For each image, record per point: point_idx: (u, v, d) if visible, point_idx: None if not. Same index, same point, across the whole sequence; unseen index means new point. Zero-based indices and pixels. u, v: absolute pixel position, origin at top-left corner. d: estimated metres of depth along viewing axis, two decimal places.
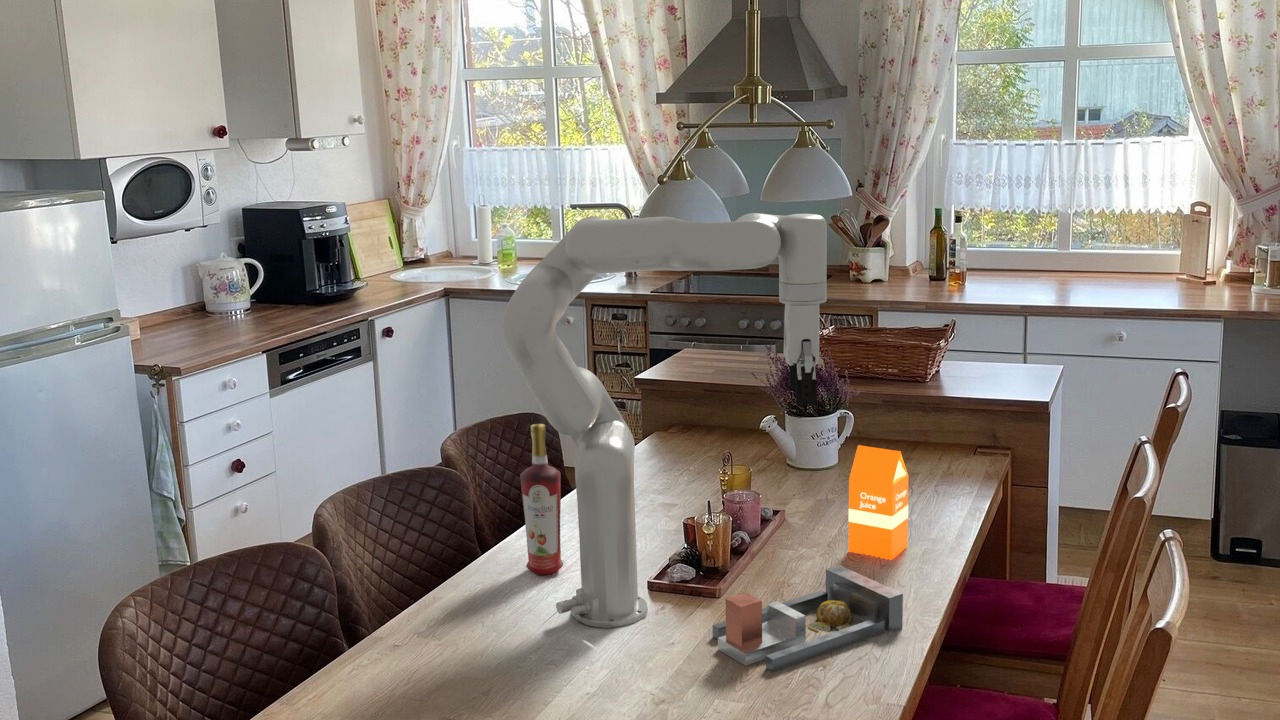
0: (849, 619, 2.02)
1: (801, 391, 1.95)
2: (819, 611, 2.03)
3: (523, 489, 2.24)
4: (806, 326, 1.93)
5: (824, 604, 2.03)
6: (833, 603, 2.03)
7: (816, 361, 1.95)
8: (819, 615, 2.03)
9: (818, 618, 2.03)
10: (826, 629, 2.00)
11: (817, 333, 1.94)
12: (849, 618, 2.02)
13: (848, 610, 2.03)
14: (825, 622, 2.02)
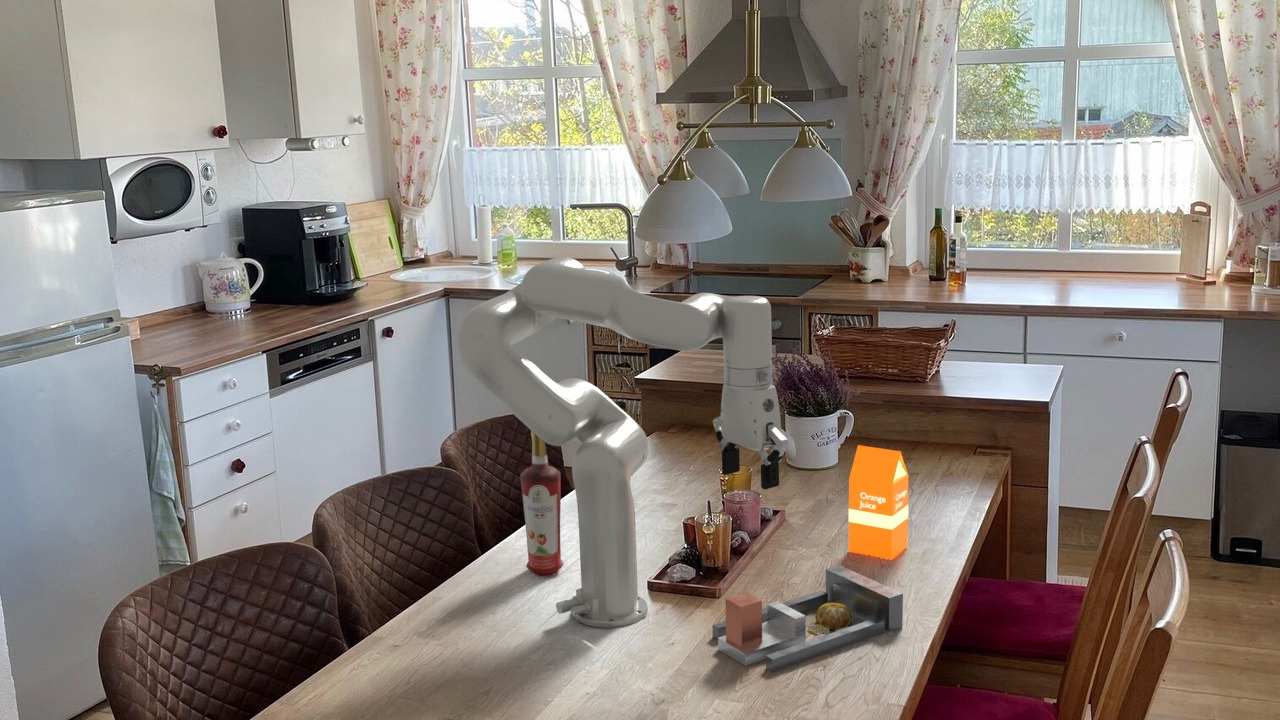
0: (848, 622, 2.01)
1: None
2: (818, 613, 2.02)
3: (523, 489, 2.24)
4: None
5: (823, 606, 2.02)
6: (832, 605, 2.02)
7: None
8: (818, 618, 2.02)
9: (817, 621, 2.02)
10: (825, 632, 1.99)
11: (721, 408, 1.97)
12: (848, 621, 2.01)
13: (848, 613, 2.02)
14: (825, 625, 2.01)
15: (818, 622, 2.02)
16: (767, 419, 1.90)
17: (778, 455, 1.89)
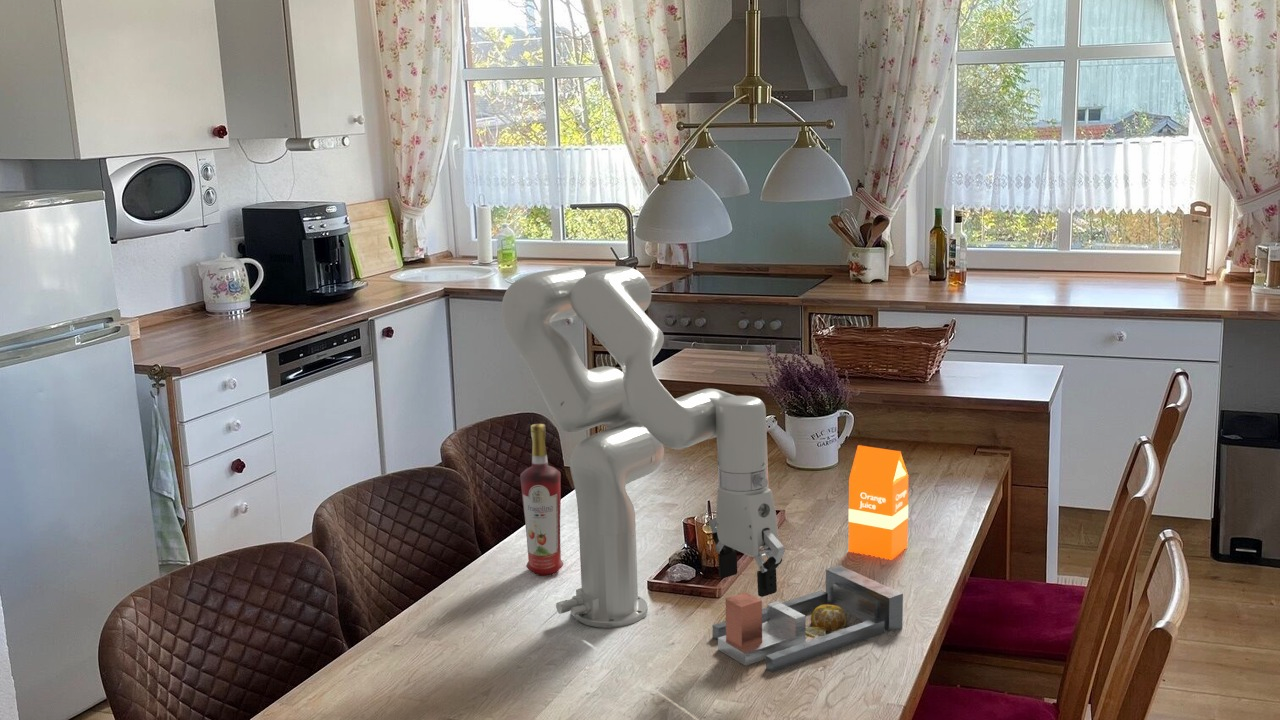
0: (844, 623, 2.01)
1: None
2: (814, 616, 2.01)
3: (523, 489, 2.24)
4: None
5: (819, 608, 2.02)
6: (827, 607, 2.02)
7: None
8: (814, 620, 2.01)
9: (813, 623, 2.01)
10: (822, 634, 1.99)
11: (716, 510, 1.91)
12: (844, 622, 2.01)
13: (843, 614, 2.01)
14: (821, 627, 2.00)
15: (814, 624, 2.01)
16: (763, 525, 1.84)
17: (774, 562, 1.82)
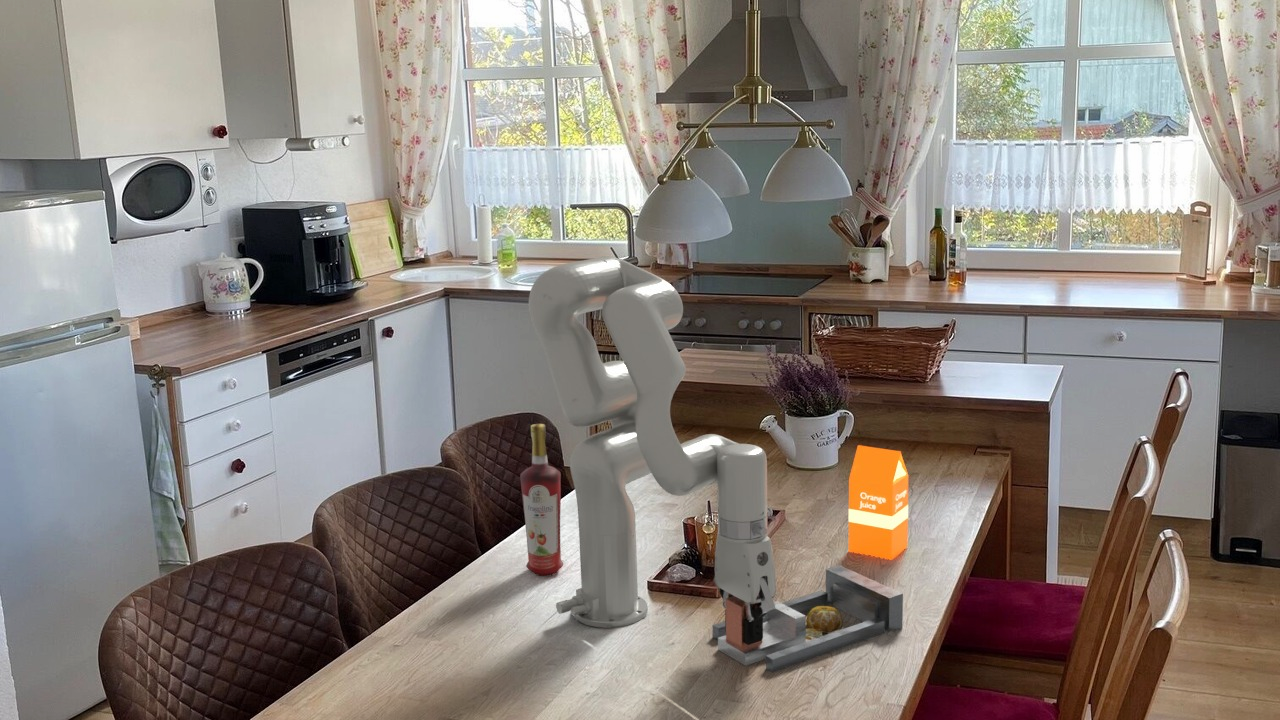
0: (840, 624, 2.00)
1: None
2: (810, 617, 2.01)
3: (523, 489, 2.24)
4: None
5: (814, 610, 2.01)
6: (823, 608, 2.01)
7: None
8: (810, 621, 2.00)
9: (809, 624, 2.01)
10: (818, 635, 1.98)
11: None
12: (840, 623, 2.00)
13: (838, 615, 2.01)
14: (817, 629, 1.99)
15: (810, 626, 2.00)
16: (761, 573, 1.86)
17: (761, 614, 1.87)
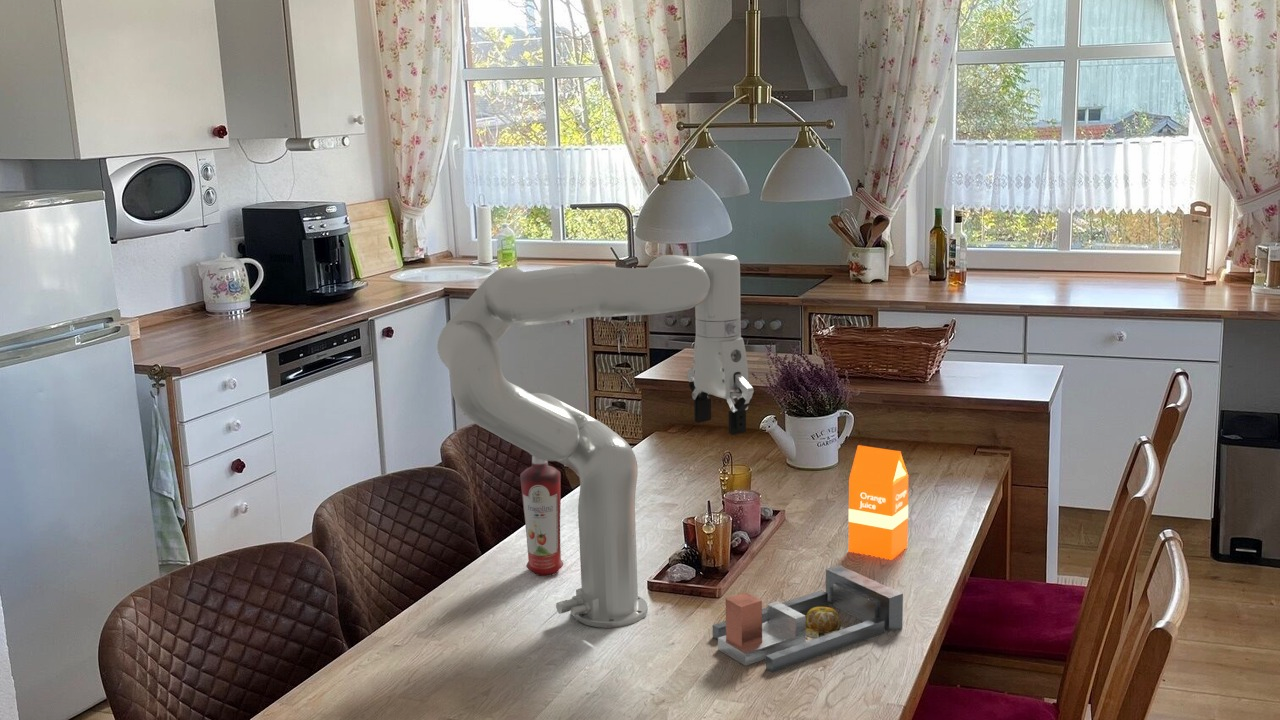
0: (838, 626, 2.00)
1: None
2: (807, 617, 2.01)
3: (523, 489, 2.24)
4: None
5: (812, 610, 2.01)
6: (821, 609, 2.01)
7: (694, 384, 2.11)
8: (807, 622, 2.00)
9: (806, 625, 2.01)
10: (815, 636, 1.98)
11: (693, 359, 2.10)
12: (838, 625, 2.00)
13: (837, 616, 2.00)
14: (814, 629, 1.99)
15: (807, 626, 2.00)
16: (734, 369, 2.03)
17: (744, 402, 2.02)
